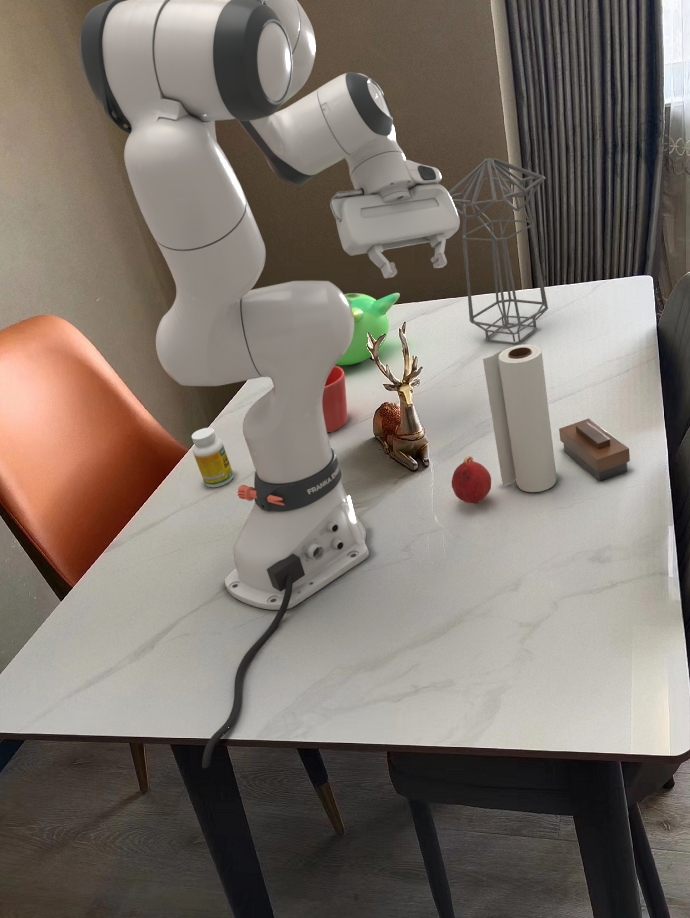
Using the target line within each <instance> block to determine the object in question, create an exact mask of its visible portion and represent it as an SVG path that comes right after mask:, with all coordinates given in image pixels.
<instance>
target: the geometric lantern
mask: <svg viewBox="0 0 690 918" xmlns="http://www.w3.org/2000/svg"><path fill="white" fill-rule="evenodd" d="M486 166H487V177H485V178H484V174H485V168H486ZM508 169H510V170H512V171H515V172H518V173H521V174H524V175H527V176H529V177H524V178H520V176H518V175H516V174H514V173H513V172H512V171H510V170H508ZM493 171H494V173H495V175H496V177H494V175H493ZM503 177H504V178H503ZM468 179H470V180H469V181H468V183H467V184H466V185H465V187H464V188H463V190H462V191H461V192H458V193H454V192H455V191H457V189H459V188H460V187H461V186H462V185H463V184H464V183H465V182H466V181H467V180H468ZM515 179H516V180H517V181H516V180H515ZM487 180H489V185H490V190H491V197H492V198H491V199H485V200H481V201H477V200H478V197H479V194H480V192H481V188H482V185H483V182H484V181H487ZM533 180H534V181H533ZM544 180H546V177H545V176H544V175H541V174H539V173H537V172H534V171H531V170H528V169H525V168H524V167H520V166H518V165H515V164H513V163H510V162H507V161H505V160H502V159H499V158H496V157H492V158H491V157H488V158H484V160H483V161H482V162H481V163H480V164H479V165H477V166H476V167H475V168H474V169H473V170H472V171H471V172H469V173H468V174H467V175H466V176H465V177H463V178H462V179H461V180H460V181H459V182H458V183H457V184H455V186H453V187H451V189H450V190H448V193H449V195H450V197H451V199H452V201H453V203H454V206H455V208H456V211H457V213H458V215H460V216H462V228H461V235H460V238H461V244H462V253H463V260H464V261H463V262H464V269H465V275H466V276H465V278H466V289H467V290H466V291H467V303H468V316H469V322H470V323H471V324H473V325H475V326H477V328H479V329H481V330H483V331H484V333H485V340H486V341H487V342H492V343H499V344H500V343H501V344H507V345H508V344H509V345H514V346H516V345H519V344H520V343H522V342H523V341H524V340H526V339H527V338H528V337H529V336H530V335H532V334H533V333H534V332H535V331H537V330H538V327H537V326H538V325H537V320H538V319H540V317H542V315H544V314H545V313H546V312H547V311H548V309H549V306H548V300H547V294H546V289H545V284H544V280H543V275H542V269H541V264H540V258H539V253H538V247H537V240H536V239H537V238H536V234H535V233H536V232H535V226H534V225H535V224H534V220H533V217H532V212H531V208H530V205H529V201H531V198H532V197H533V195H534V194H535V193H536V191H537V190H538V189H539V187H540V185H541V184H542V182H543V181H544ZM527 181H532V183H530V184H529V186H527V187H526V182H527ZM502 184H503V185H502ZM508 184H510V186H512V188H510V186H509V185H508ZM495 186H497V187H498V188H500V190H501V193H502V197H501V199H498V198H497V192H496V187H495ZM515 187H517V188H518V189H519V191H516V192H515ZM532 188H533V189H532ZM531 189H532V190H531ZM530 190H531V191H530ZM529 191H530V193H529V194H528V192H529ZM453 193H454V194H453ZM470 193H471V200H468V199H467V198H468V196H469V195H470ZM505 193H506V194H505ZM457 197H461V199H460V198H459V199H458V198H457ZM524 197H525V200H524V202H523V200H522V198H524ZM456 198H457V199H456ZM512 198H514V199H515V200H514V201H515V204H516V206H515V205H514V204H513V203H512V202H511V199H512ZM500 202H504V203H505V205H504V207H503V209H502V211H501V214H500V216H499V218H498V219H495V220H491V219H490V218H489V217H488V216H487V215H486V214H485V213H484V212H485V211H487V210H488V209H489V208H490V207H491V206H493V204H495V203H500ZM519 202H520V205H519ZM485 204H486V205H485ZM479 205H485V206H484V207H483V208H481V209H480V208H479V207H478V206H479ZM456 206H457V207H461V210H460V209H458V208H457V207H456ZM508 206H509V207H510V208H511V209H512V210H511V211H510V214H509V217H508V219H503V217H504V216H505V212H506V210H507V209H508ZM469 207H470V208H471V209H472V213H473V214H471V215H467V214H466V212H467V210H466V208H469ZM525 207H526V208H525ZM475 208H476V209H477V210H478V213H476V210H475ZM521 209H522V210H523V212H524V215H525V218H526V219H511V218H512V216H513V214H514V212H520V210H521ZM481 215H482V216H483V217H484V218H485V219H486V220H487V222H484V221H483V219H482V217H480V216H481ZM471 219H477V220H478V221H479V222H480V224H481V225H480V226H477V227H476V228H473V229H472V230H469V231H468V232H467V224H466V223H467V220H471ZM502 222H503V223H506V224H505V226H504V228H502ZM509 223H528V224H529V225H527V226H525V227H524V228H522V229H520V230H518V231H516V232H514V233H512V234H510V235H508V236H507V237H504V234H505V232H506V230H507V227H508V225H509ZM493 224H498V229H499V237H496V236H495V234H494V225H493ZM488 225H489V227H488ZM483 227H484V229H485V230H486V231H487V232H488V234H489V235H490V238H479V237H467V236H468V235H470V234H472V233H474V232H476V231H478V230H480V229H482V228H483ZM528 229H529V230H530V236H531V241H532V245H533V251H534V257H535V264H536V271H537V277H538V284H539V290H540V291H539V292H540V297H541V301H536V300H527V299H517V295H516V294H517V293H516V288H515V282H514V277H513V272H512V271H513V270H512V266H511V260H510V255H509V249H508V243H507V240H508V239H511V238H513V237H514V236H516V235H518V234H521V233H522V232H524V231H526V230H528ZM467 240H469V241H482V242H491V243H490V244H491V253H492V265H493V278H494V288H495V302H493V303H492V304H490V305H488V306H487V307H485V308H484V309H482V310H481V311H479V312H477V313H475V314H474V308H473V301H472V291H471V290H472V289H471V283H470V274H469V273H470V272H469V258H468V255H469V254H468V241H467ZM498 242H500V246H501V253H502V261H503V266H504V273H505V281H506V288H507V297H508V299H505V296H504V295H505V294H504V287H503V279H502V272H501V263H500V256H499V255H500V254H499V250H498V249H499V248H498ZM498 283H499V285H498ZM499 291H500V298H501V299H500V298H499ZM511 292H512V295H511ZM499 299H500V300H499ZM506 303H508V305H507V311H506ZM511 303H514V310H515V314H516V315H509V314H510V307H511ZM518 303H520V304H521V303H522V304H533V305H540V307H539V308H538V309H537V312H535V313H533V314H531V315H530V316H524V315H523V316H520V312H519V305H518ZM500 304H501V305H500ZM496 305H497V307H498V309H499V312H500V315H501V317H499V318H498V319H496V320H495V321H494V322H493V323H489V322H488V323H487V322H483V321H476V320H475V318H477V317H478V316H480V315H482V314H483V313H485V312H487V311H488V310H490V309H492V308H493V307H495V306H496ZM501 306H502V307H501ZM543 307H544V308H543ZM509 319H516V320H517V323H513V322H510V320H509ZM521 319H523V320H521ZM530 320H531V321H530ZM499 321H501V323H502V324H501V325H500V324H497V323H498V322H499ZM528 321H530V322H528ZM527 322H528V323H527ZM525 323H527V324H525ZM484 326H485V327H486V328H485V327H484ZM521 327H522V328H521ZM490 328H496V329H495V330H492V329H490ZM513 328H517V330H516V331H515V332H513V330H512V329H513ZM526 328H534V329H533V330H531V331H530V332H528V333H527V334H526V335H525V336H524V337H522V338H521V335H520V334H521V333H520V332H522V331H524V329H526ZM502 329H503V330H507V331H502ZM500 330H501V331H500ZM489 333H490V334H489ZM495 333H496V334H503V335H511V336H512V341H505V340H498V339H497V340H496V339H490V338H491V337H492V336H493V335H494V334H495ZM515 335H517V339H518V340H517V341H516V337H515Z"/></svg>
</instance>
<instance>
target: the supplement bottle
mask: <svg viewBox="0 0 690 918" xmlns="http://www.w3.org/2000/svg"><path fill="white" fill-rule="evenodd" d="M191 440H192V443H193V447H192V453H193V456H194V459H195V462H196V465H197V467H198V469H199V472H200V476H201V477H202V481H203V483H204V484H205V486H206V487H208V488H219V487H222V486H225V485H227V484H229V483H230V482H231V481H232V479H234V472H233V469H232V466H231V463H230V460H229V458H228V455H227V451H226V448H225V445H224V443H223V441H222V440H221V439H220V438H218V437H217V435H216V432H215V430H214V428H213V427H203V428H201V429H198V430H196V431H194V432H193V433H192V434H191Z"/></svg>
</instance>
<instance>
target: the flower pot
mask: <svg viewBox="0 0 690 918" xmlns="http://www.w3.org/2000/svg"><path fill="white" fill-rule="evenodd" d="M322 407H323V414H324V420H325V425H326V430H327V433H331V432H334V431H337V430H339V429H341V428H342V427H343V426H345V425H346V423H347V422H348V403H347V389H346V377H345V372H344V369H343V368H342V367H340V366H338V365H334V367H333V368H332V370H331V372H330V374H329V376H328V378H327V380H326V383H325V387H324V391H323V399H322Z"/></svg>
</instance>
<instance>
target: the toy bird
mask: <svg viewBox="0 0 690 918" xmlns="http://www.w3.org/2000/svg"><path fill="white" fill-rule="evenodd" d="M343 294H344V295H345V296H346V298H347V300H348V301H349V304H350V306H351V309H352V312H353V316H354V332H353V337H352V341H351V343H350V345H349V347H348V349H347V351H346V352H345V354H344V355H343V356H342V357H341V358H340V359H339V360H338V361H337V363H336V364H335V365H336V366H350V365H356V364H359V363H362V362H365V361H366V360H368V359H370V358H371V357H372V356H371V353H370V352H369V350H368V349H367V346H366V344H367V343H368V337H367V333H368V332H369V333H370V334H371V335H372V337H373V338H374V339H375V340H377V339H378V338H379V337H380V336H381V335H382V334H384V333H385V334H386V337H385V339H384V340H383V342H382V343H381V345H380V346H379V349H378V351H379V350H380V349H381V348H382V346H383V345H384V343H385V341H386V339H387V336H388V333H389V328H390V327H389V326H390V325H389V324H390V323H389V316H388V313H387V312H388V311H389V310H390V309H391V308H392V307H393V306H394V305H395V304H396V302H397V301H398V300H399V298H400V296H401V294H400V293H399V292H394V293H391V294H388V295H386V296H384V297H381V298H379V299H376V298H374V297H372V296H370V295H367V294H364V293H360V292H359V293H358V292H357V293H356V292H353V293H343Z"/></svg>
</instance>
